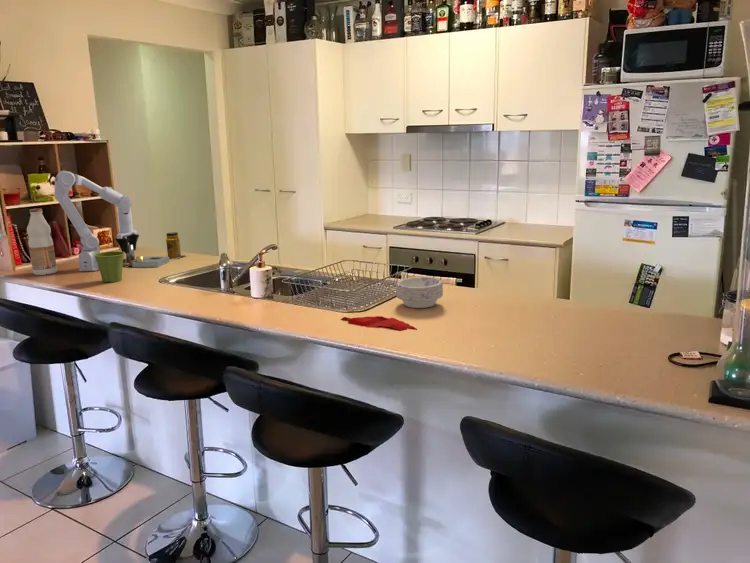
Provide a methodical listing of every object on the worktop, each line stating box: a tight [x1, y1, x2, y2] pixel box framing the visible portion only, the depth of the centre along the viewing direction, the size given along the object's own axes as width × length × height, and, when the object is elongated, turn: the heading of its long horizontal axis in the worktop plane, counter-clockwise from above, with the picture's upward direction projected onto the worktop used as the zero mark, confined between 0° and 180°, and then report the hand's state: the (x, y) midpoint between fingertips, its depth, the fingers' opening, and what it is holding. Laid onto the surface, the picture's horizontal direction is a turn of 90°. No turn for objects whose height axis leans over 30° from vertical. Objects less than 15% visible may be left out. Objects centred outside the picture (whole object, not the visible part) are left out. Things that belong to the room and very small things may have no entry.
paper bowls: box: [395, 276, 444, 309], centre depth 207 cm, size 15×15×8 cm
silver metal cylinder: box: [125, 243, 136, 263], centre depth 289 cm, size 4×4×8 cm
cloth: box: [340, 315, 418, 332], centre depth 188 cm, size 26×14×2 cm, turn 50°
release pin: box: [135, 255, 144, 261], centre depth 284 cm, size 3×3×4 cm
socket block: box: [132, 256, 170, 268], centre depth 287 cm, size 12×12×2 cm
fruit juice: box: [26, 208, 58, 276], centre depth 271 cm, size 9×9×28 cm
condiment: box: [165, 231, 187, 260], centre depth 303 cm, size 7×8×12 cm
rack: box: [122, 258, 137, 268], centre depth 289 cm, size 12×7×2 cm, turn 174°
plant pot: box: [94, 250, 126, 283], centre depth 255 cm, size 12×12×11 cm
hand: (129, 251), depth 288 cm, fingers open, 7 cm apart
